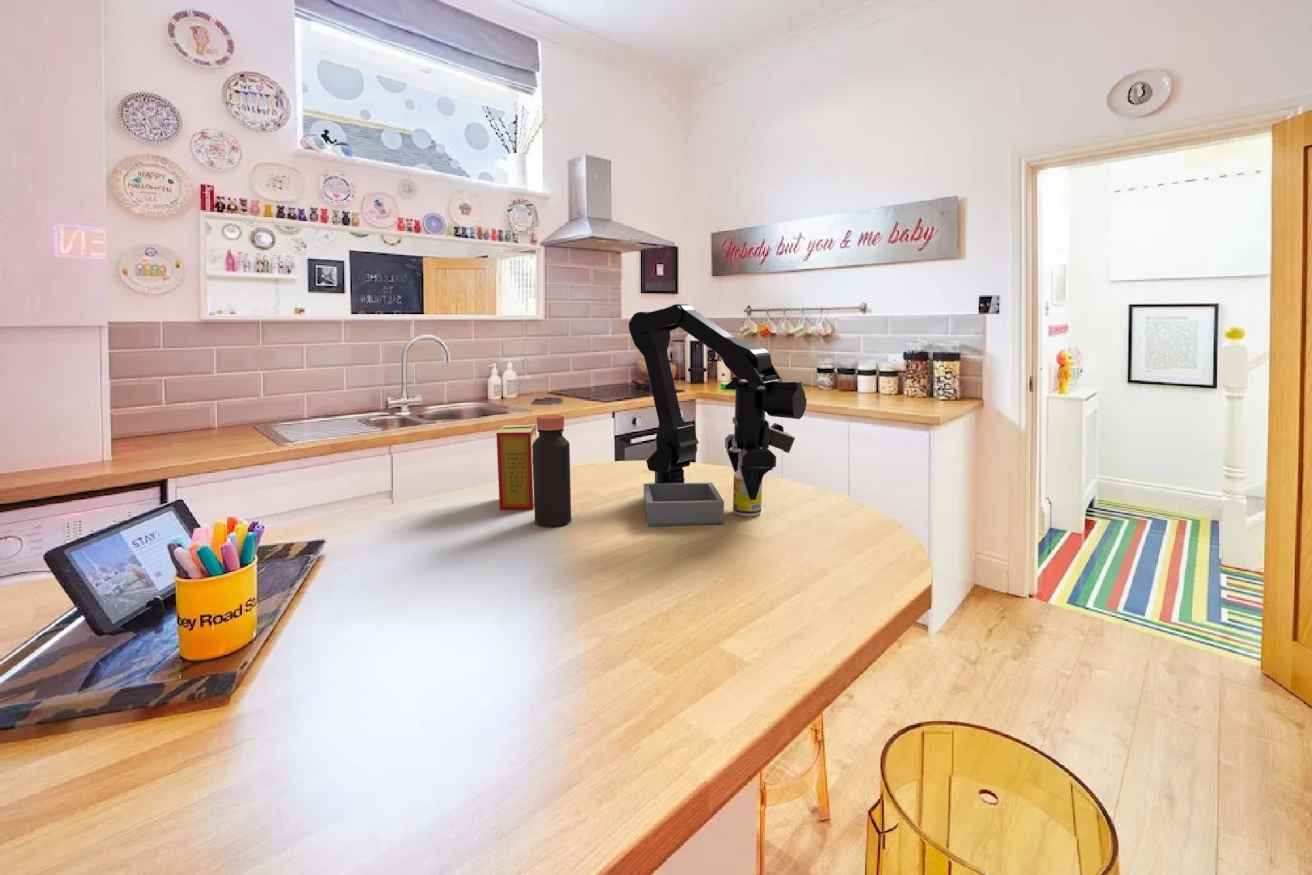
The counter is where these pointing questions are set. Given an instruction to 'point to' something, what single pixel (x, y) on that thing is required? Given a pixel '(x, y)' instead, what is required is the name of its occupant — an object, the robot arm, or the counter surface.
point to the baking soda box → (516, 466)
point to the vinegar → (551, 473)
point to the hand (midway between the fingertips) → (747, 493)
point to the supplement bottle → (745, 498)
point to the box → (683, 504)
